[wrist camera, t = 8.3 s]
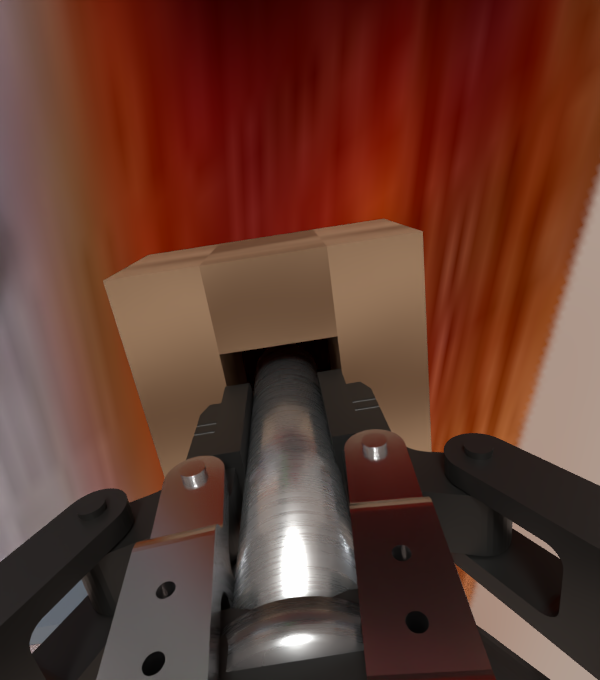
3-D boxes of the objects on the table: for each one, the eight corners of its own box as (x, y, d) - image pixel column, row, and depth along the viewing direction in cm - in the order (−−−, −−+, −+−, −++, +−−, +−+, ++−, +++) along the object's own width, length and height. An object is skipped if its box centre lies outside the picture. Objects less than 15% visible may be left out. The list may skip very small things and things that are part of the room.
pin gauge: (240, 341, 15) (170, 664, 5) (320, 329, 15) (412, 627, 5) (254, 411, 16) (222, 798, 6) (329, 399, 16) (422, 765, 6)
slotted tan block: (148, 255, 16) (103, 281, 12) (383, 218, 16) (422, 231, 12) (201, 453, 19) (181, 529, 15) (398, 422, 19) (433, 490, 15)
